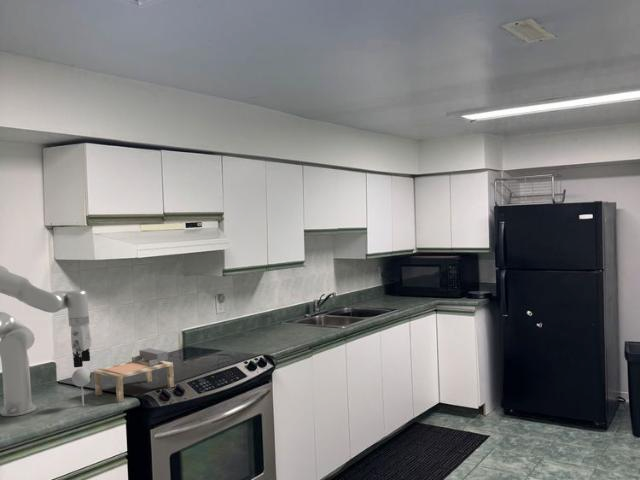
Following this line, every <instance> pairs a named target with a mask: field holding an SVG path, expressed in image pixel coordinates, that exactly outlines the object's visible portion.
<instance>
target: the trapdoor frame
mask: <svg viewBox="0 0 640 480" xmlns="http://www.w3.org/2000/svg"><path fill="white" fill-rule="evenodd" d="M149 361H151V360H146V359H142V360H139V361H135V363H139V364H144V365H148V366H149ZM129 363H134V362H132V361H128V362H125V363H120V364H116V365H111V366H106V367H102V368H98V369H94V370H93V371H94V373H93V374H94V375H93V377H94V389H95V391H94V392H95V393H94V394H95V396H102V395H103V385H102V383H103V381H102V376H106V377H109V378H112V379H115V393H116V394H115V395H116V397H115V399H116V402H117V403H122V402H124V401H125V400H124V398H125V397H124V381H123V380H124V379H123V378H127V377H131V376H135V375H138V374H143V373H144V374H145V382H147V383H150V382H152V381H153V374H152V372H153V371H154V370H156V371H157V370H159V369H162V368H163V369H164V368H166V379H167V388H174V387H175V376H174V363H173V362H172V361H171V362H170V361H168V360H164V361H160V362H159V364H155V365H151V366H152V367H149V368H145V369H141V370H137V371H133V372H129V373H125V374H121V375H119V374H115V373H111V372H107V371H105V369H108V368H112V367H117V366H121V365H125V364H129Z"/></svg>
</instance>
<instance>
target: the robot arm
mask: <svg viewBox="0 0 640 480" xmlns="http://www.w3.org/2000/svg"><path fill="white" fill-rule="evenodd" d="M0 294H3V295H5V296H8V297H11V298H14V299H16V300H18V301H20V302H22V303H23V304H25V305H27V306H30V307H31V308H34V309H37V310H40V311H43V312H46V313H51V314H52V313H53V314H54V313H57V312H59V311H61V310H64V309H67V317H68V327H70V340H71V341H70V343H71V350H72V359H73V367H74V368H82V367H84V365H83V363H85V362H90V361H91V353H90V352H91V351H90V348H91V347H92V339H91V332H90V331H91V330H90V316H89V315H90V314H89V303H88V293H87V291H86V290H84V289H80V290H79V289H78V290H77V289H76V290H71V291H69V290H68V291H66V290H57V291H54V292H50V291H47V290H44V289H41V288H40V287H37V286H34V285H33V284H32V282H30V280H29V278H27V277H24V276H21V275H18V274H16V273H12V272H9V270H8V269H7V268H6V267H5V266H3V265H0ZM34 344H35V335H34V333H33V331H32V330H31V329H30V328H29V327H27V326H26V325H25V324H23V323H22V322H20V321H19V320H17V319H16V318H14V317H13V316H12V315H10V314H8V313H6V312H4V311H0V361H1V374H2V386H3V387H2V388H3V405H4V406H3V407H4V408H2V409H1V410H0V415H1V416H2V417H18V416H23V415H26V414H29V413H32V412H34V411H36V409H37V405H36V404H34V403H33V402H32V388H31V387H32V386H31V370H30V359H29V356H28V350H29V349H30V348H31V347H32V346H34Z"/></svg>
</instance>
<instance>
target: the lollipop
mask: <svg viewBox="0 0 640 480" xmlns="http://www.w3.org/2000/svg"><path fill="white" fill-rule="evenodd" d="M91 379H92V374H91V371H89V370H88V369H87V368H84V367H83V368H82V367H80V368H78V369H76V370H75V371H74V372H73V373H72V376H71V381H72V383H73V384H74V385H75V386H76V387H80V388H81V389H80V391H81V405H82V407H84V406H85V400H84V397H85V396H84V387H85V386H87V385H88V384H89V383H90V381H91Z"/></svg>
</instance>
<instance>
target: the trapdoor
mask: <svg viewBox="0 0 640 480" xmlns="http://www.w3.org/2000/svg"><path fill="white" fill-rule="evenodd" d="M142 359H146V360H151V361H149V366H148V365H144V364H139V363H135V361H139V360H142ZM160 361H168V351H165V350H161V349H154V348H150V347H149V348H145V349H140V350H139V355H136V356H131V362H134V363H129V364H125V365H121V366H117V367H112V368H108V369H105V371H107V372H111V373H115V374H119V375H121V374H125V373H129V372H133V371H137V370H141V369H145V368H149V367H152V366H151V365H155V364H159V362H160Z"/></svg>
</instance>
